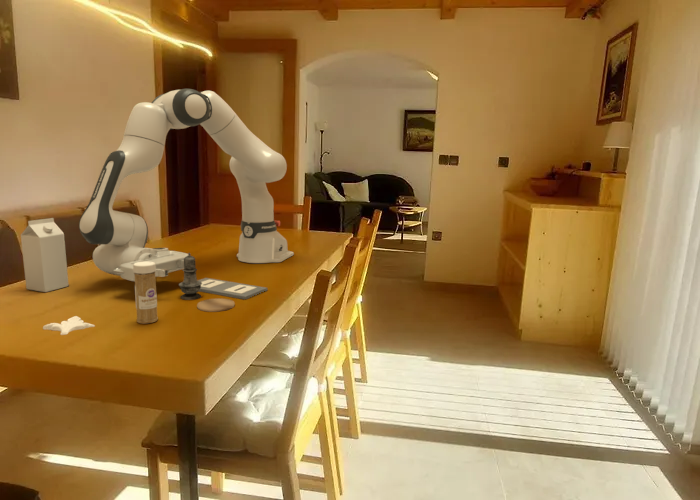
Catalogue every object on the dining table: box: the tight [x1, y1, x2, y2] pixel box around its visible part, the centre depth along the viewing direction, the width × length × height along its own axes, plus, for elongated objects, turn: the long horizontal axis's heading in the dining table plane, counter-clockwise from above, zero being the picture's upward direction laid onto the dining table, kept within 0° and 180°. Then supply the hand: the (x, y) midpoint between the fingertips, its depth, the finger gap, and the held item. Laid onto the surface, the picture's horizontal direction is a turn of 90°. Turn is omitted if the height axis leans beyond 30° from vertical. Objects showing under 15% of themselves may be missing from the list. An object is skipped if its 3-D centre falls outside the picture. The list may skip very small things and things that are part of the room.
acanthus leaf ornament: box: [42, 315, 96, 336], centre depth 103 cm, size 8×7×2 cm
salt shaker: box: [178, 252, 202, 301], centre depth 126 cm, size 6×6×12 cm
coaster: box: [196, 297, 236, 313], centre depth 120 cm, size 9×9×1 cm
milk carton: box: [20, 217, 70, 293], centre depth 130 cm, size 7×7×19 cm
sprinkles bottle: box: [133, 261, 159, 325], centre depth 107 cm, size 5×5×13 cm
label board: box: [197, 277, 268, 300], centre depth 135 cm, size 10×22×1 cm, turn 65°
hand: (179, 269), depth 128 cm, fingers open, 8 cm apart
